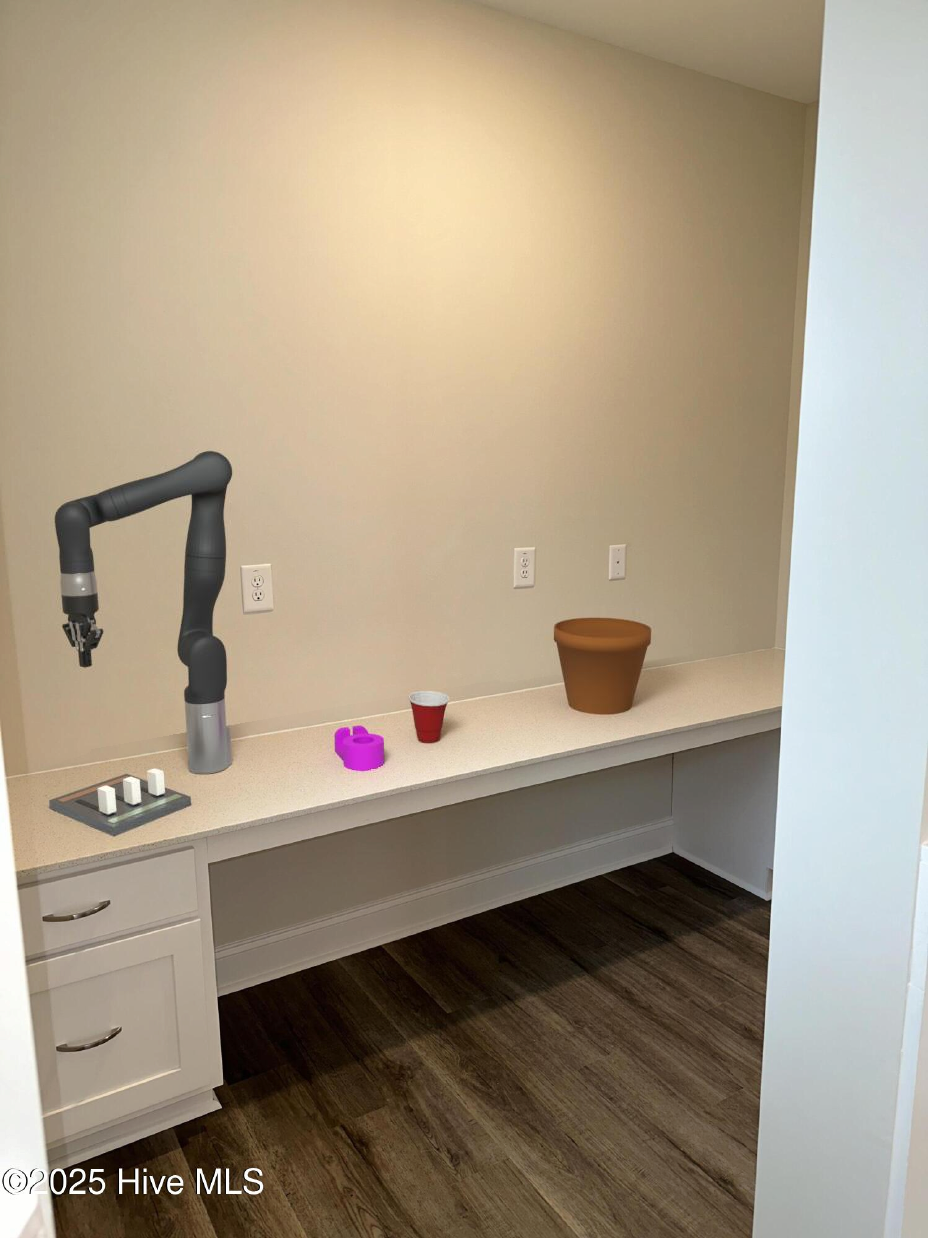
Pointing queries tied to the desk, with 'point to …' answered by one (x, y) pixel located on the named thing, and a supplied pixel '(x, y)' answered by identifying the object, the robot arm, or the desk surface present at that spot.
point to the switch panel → (118, 806)
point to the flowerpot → (601, 662)
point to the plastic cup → (428, 714)
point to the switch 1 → (106, 799)
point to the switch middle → (132, 790)
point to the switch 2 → (155, 781)
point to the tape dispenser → (359, 748)
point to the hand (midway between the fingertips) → (85, 666)
